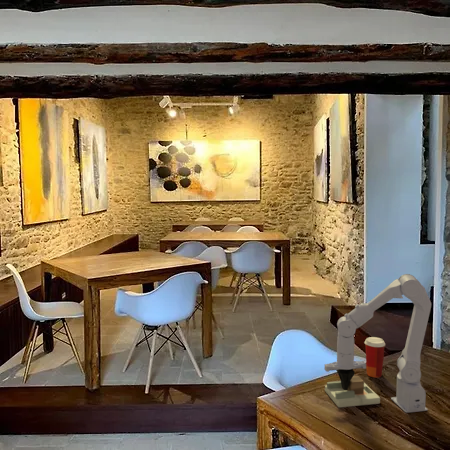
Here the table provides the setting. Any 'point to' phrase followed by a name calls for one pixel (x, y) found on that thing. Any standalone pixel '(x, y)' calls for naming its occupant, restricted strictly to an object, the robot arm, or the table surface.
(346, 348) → the robot arm
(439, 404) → the table surface
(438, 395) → the table surface
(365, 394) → the board
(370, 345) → the paper cup
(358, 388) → the walnut block
